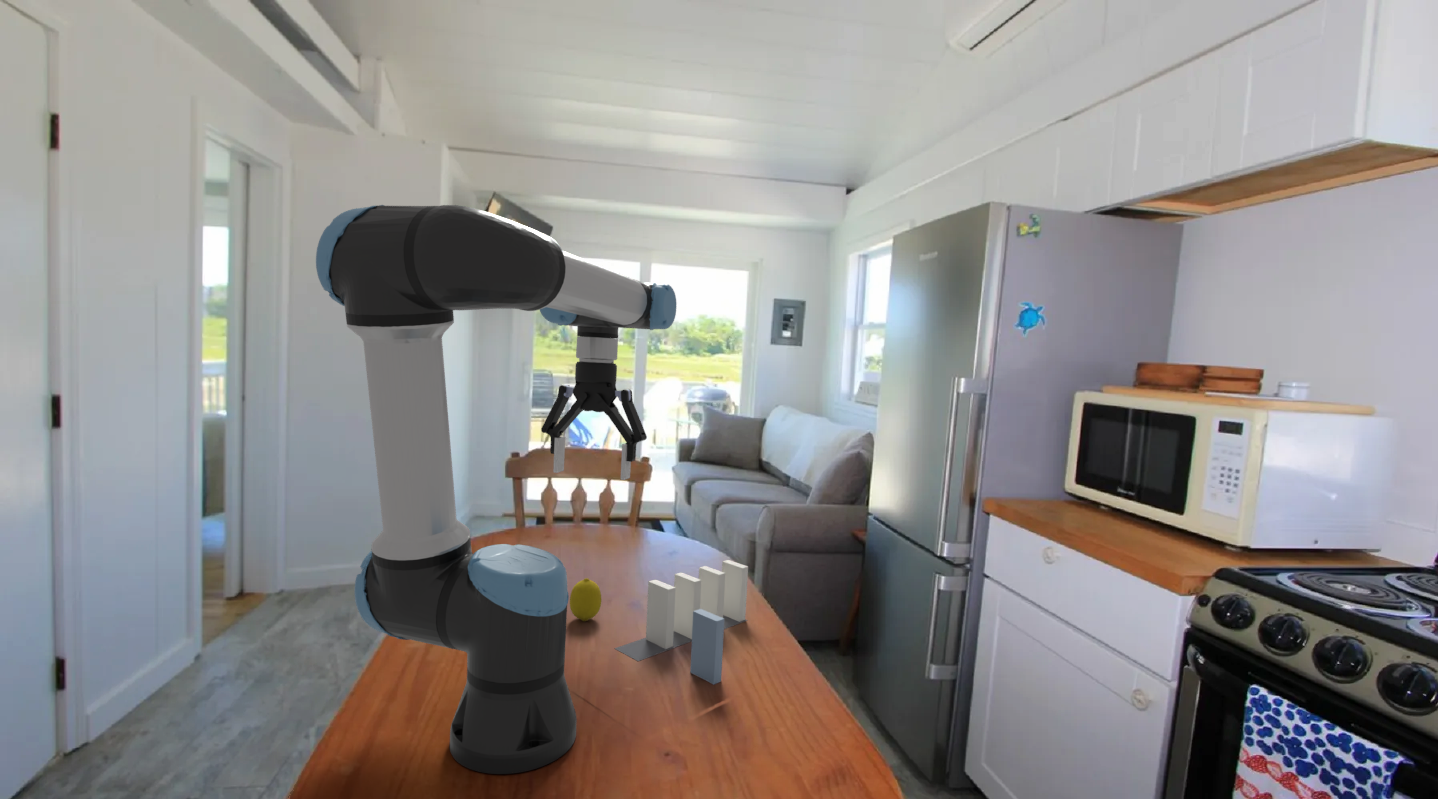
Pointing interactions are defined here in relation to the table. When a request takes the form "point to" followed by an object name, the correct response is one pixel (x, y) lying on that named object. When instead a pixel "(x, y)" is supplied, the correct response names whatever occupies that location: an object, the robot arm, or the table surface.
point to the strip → (647, 649)
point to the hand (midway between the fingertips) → (591, 475)
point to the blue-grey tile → (707, 646)
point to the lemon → (585, 599)
